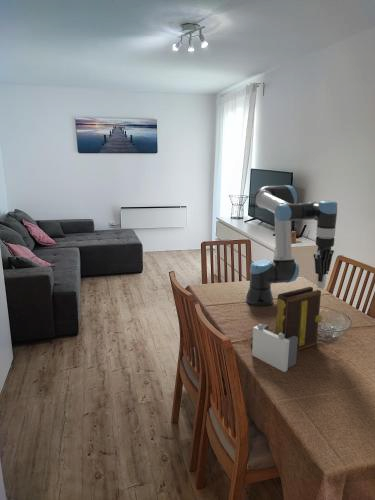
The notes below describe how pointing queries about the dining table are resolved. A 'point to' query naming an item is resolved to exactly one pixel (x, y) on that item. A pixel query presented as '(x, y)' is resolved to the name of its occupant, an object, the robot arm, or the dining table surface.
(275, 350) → the carcass
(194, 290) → the dining table surface
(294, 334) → the book
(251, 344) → the hinge block
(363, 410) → the dining table surface
